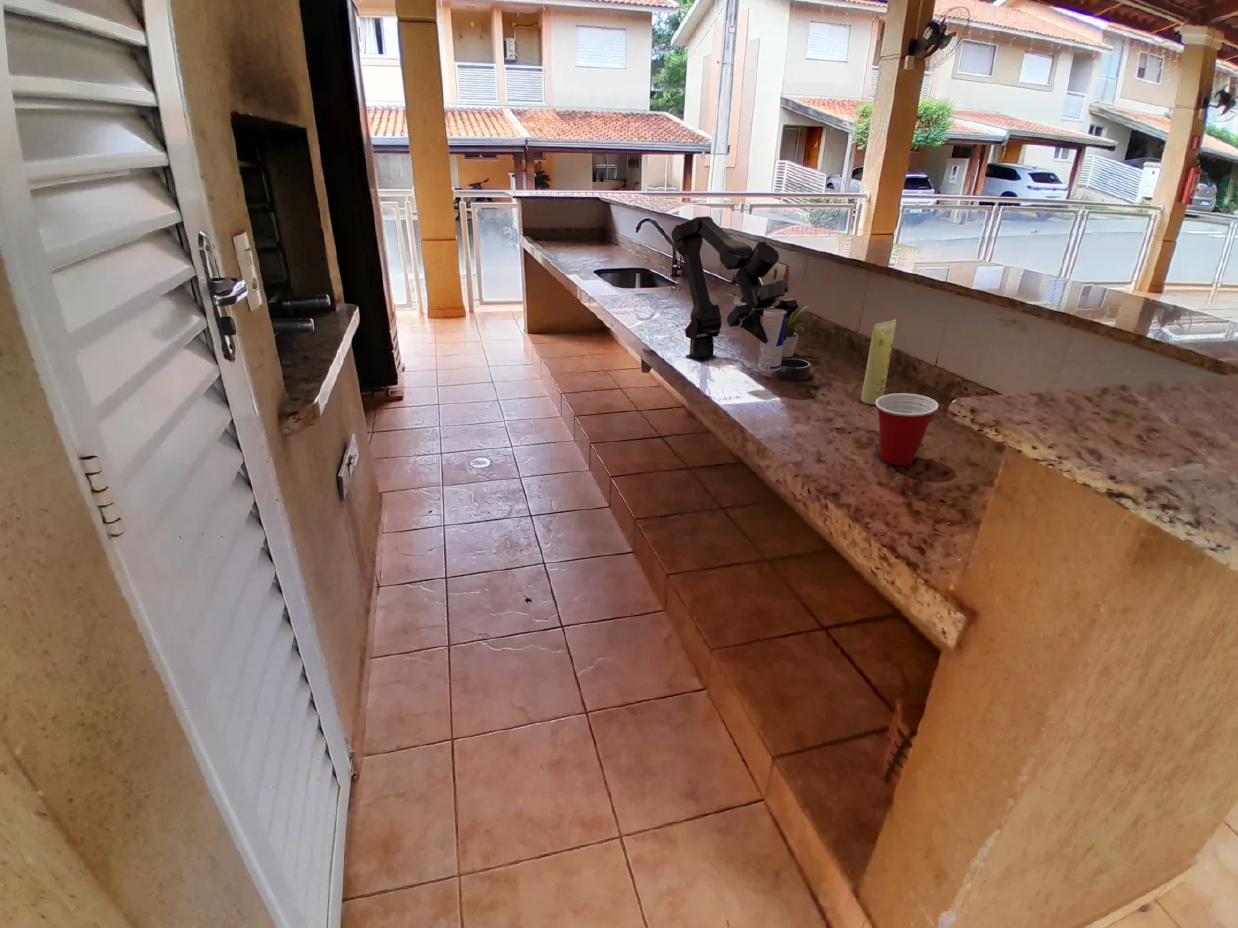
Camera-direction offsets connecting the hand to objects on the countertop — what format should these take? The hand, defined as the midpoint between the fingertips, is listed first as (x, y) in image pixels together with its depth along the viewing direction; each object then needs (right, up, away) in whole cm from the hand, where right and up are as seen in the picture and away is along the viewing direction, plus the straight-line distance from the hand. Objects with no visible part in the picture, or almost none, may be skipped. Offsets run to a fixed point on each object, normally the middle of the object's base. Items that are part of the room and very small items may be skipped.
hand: (775, 341), depth 153 cm
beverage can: (-1, -6, +5) cm, 8 cm away
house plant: (+10, +2, +33) cm, 34 cm away
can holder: (+8, -6, +15) cm, 18 cm away
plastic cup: (+15, -30, -33) cm, 47 cm away
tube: (+22, -16, -4) cm, 27 cm away
